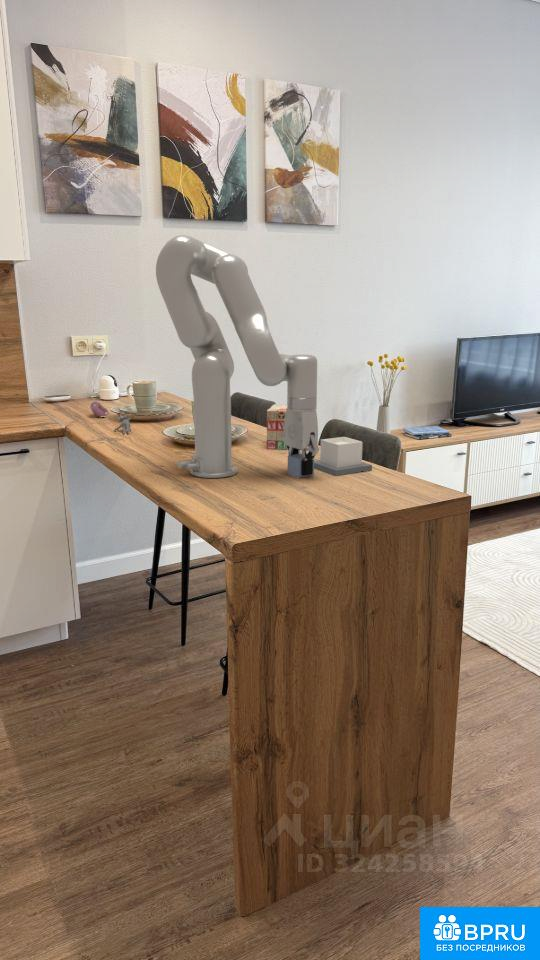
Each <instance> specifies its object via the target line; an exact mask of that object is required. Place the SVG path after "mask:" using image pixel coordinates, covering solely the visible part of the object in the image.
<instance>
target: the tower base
mask: <svg viewBox="0 0 540 960" xmlns="http://www.w3.org/2000/svg"><path fill="white" fill-rule="evenodd" d="M319 452H320V457H319V458H320V459H316V460H314V470H315V469H316V470H318V471H321V472H323V473H327V474H330V475H332V476H335V477H338V476H346V475H349V474H350V473H352V474H356V472H359V473H362V472H361V471H365V472H369V471H368V470H372V471H373V464H370V463H368V462H364V461H363V441H361V440H359V439H358V440H357V439H353V438H350V437H346V436H341V437H340V436H339V437H333V438H325V439H320V450H319ZM350 475H351V474H350Z"/></svg>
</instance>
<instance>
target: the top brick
mask: <svg viewBox="0 0 540 960" xmlns="http://www.w3.org/2000/svg"><path fill="white" fill-rule="evenodd" d="M302 460H303V455H302V453H299V454H294V455H289V454H288V455H287V475H290V476H293V477H296V478H297V479H298V478H305V477H313V476H315V468H314V461H315V459H314V460H313V474H312V475H306V476H302V475H301V461H302Z"/></svg>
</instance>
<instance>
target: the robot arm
mask: <svg viewBox="0 0 540 960" xmlns="http://www.w3.org/2000/svg"><path fill="white" fill-rule="evenodd" d="M192 276H195V277H197V278H200V279H203V280H204V281H207V282H209V283H211V284H213V285H215V287H216V289H217V291H218V293H219V295H220V299H222V302H223V305H224V306H225V308H226V310H227V313H228V316H229V317H230V320H231V322H232V325H233V326H234V330H235V332H236V334H237V336H238V339H239V340H240V343H241V346H242V349H243V350H244V353H245V355H246V357H247V360H248V362H249V364H250V366H251V368H252V370H253V372H254V375H255V376H256V378H257V380H258V381H259V382H260V383H261V384H263V385H264V386H265V387H266V386H267V387H276V386H278V385H280V384H281V383H282V382H286V383H287V388H286V389H287V390H286V391H287V395H286V397H287V399H286V400H287V401H286V402H287V404H286V405H287V409H286V413H285V420H284V434H283V441H284V443H285V444H286V445H287V448H288V449H287V451H288V455H294V454H300V452H301V454H302V455H303V460H302V461H301V475H302V476H306V475H312V474H313V460H314V461H315V458H316V455H317V454H318V453H319V452H320V447H319V445H318V443H319V427H318V426H319V424H318V413H317V407H318V405H317V403H318V402H317V401H318V400H317V399H318V398H317V395H318V393H317V392H318V359H317V357H316V356H315V355H312V354H293V355H289V354H284V353H283V354H282V353H280V352H279V349H278V348H277V346H276V344H275V341H274V339H273V336H272V333H271V331H270V328H269V325H268V320H267V319H268V318H267V313H266V310H265V308H264V306H263V304H262V302H261V300H260V297H259V295H258V293H257V290H256V288H255V285H254V284H253V282H252V279H251V277H250V275H249V268H248V266H247V264H246V262H245V261H244V259H242V258H241V257H239V256H237V255H235V254H230V253H228V252H225V251H222V250H220V249H219V248H216V247H213V246H211V245H210V244H207V243H205V242H202V241H201V240H198V239H196V238H194V237H192V236H190V235H186V234H181V235H176V236H174V237H171V239H169V240H168V241H167V242H166V243H165V244H164V246H163V247H162V249H161V250H160V252H159V254H158V256H157V260H156V263H155V277H156V281H157V286H158V289H159V291H160V294H161V297H162V299H163V301H164V304H165V306H166V309H167V312H168V314H169V316H170V319H171V321H172V323H173V326H174V328H175V331H176V334H177V337H178V340H180V342H181V344H182V345H184V346H185V347H186V348H189V350H190V351H191V354H192V356H193V358H194V360H195V361H194V362H193V365H192V367H191V384H192V395H193V415H194V417H193V418H194V422H193V423H194V455H191V458H189V460H180V461H178V462H177V467H178V469H187V470H189V474H190V475H192V476H194V477H198V478H207V479H218V478H226V477H231V476H234V475H236V474H237V473H238V467H237V466H236V465H233V464H232V462H233V461H232V403H231V402H232V399H231V397H232V396H231V378H232V377H233V375H234V371H235V362H234V360H233V357H232V355H231V352H230V350H229V347H228V345H227V342H226V339H225V338H224V335H223V332H222V330H221V328H220V325H219V324H218V321H217V320H216V318H215V317H214V316H213V315H212V314H211V313H210V312H208V311H206V310H205V308H204V306H203V304H202V301H201V299H200V296H199V293H198V290H197V288H196V286H195V285H194V283H193V280H192ZM307 451H308V452H307Z"/></svg>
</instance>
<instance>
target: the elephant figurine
mask: <svg viewBox="0 0 540 960" xmlns="http://www.w3.org/2000/svg"><path fill="white" fill-rule="evenodd" d="M127 415H128V413H126V414H124V415H121V414H120V415H119V416H118V420H117V422H118V423H120V424H119V425H118V426H117V428H116V427H114V430H113V432H116V431H115V430H117V431H119V429H120V428H121V429H122V434H123V435H124V433H127V432H128V433H130V432H131V431H132V429H131V423H130V421H131V419H133V418H134V417H136V416H137V413H136V412H134V413H131V416H130V417H128V418H127Z"/></svg>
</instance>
